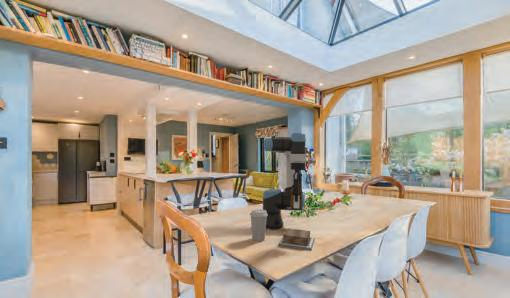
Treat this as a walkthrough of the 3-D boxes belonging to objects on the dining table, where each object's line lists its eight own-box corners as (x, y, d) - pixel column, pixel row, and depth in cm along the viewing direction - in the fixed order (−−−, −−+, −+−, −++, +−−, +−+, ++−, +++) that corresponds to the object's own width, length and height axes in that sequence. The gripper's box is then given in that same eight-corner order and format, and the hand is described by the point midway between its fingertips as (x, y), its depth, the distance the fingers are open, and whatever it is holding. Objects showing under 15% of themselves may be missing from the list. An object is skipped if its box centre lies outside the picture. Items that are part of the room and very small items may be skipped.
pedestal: (283, 242, 117) (283, 234, 117) (287, 235, 129) (287, 228, 129) (307, 246, 113) (307, 237, 114) (310, 238, 125) (310, 230, 125)
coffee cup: (246, 237, 127) (247, 209, 128) (262, 235, 131) (263, 208, 131) (253, 243, 118) (253, 213, 119) (270, 241, 122) (270, 212, 123)
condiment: (295, 206, 127) (296, 184, 127) (308, 209, 120) (308, 185, 121) (286, 208, 122) (286, 185, 123) (299, 211, 115) (299, 186, 116)
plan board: (278, 245, 116) (278, 243, 116) (284, 236, 131) (284, 233, 131) (311, 250, 111) (311, 247, 111) (314, 239, 126) (314, 237, 126)
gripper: (302, 162, 113) (302, 211, 111) (307, 162, 131) (306, 204, 129) (287, 162, 115) (286, 209, 114) (293, 162, 133) (293, 203, 132)
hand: (297, 206), depth 122 cm, fingers closed on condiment, 6 cm apart
